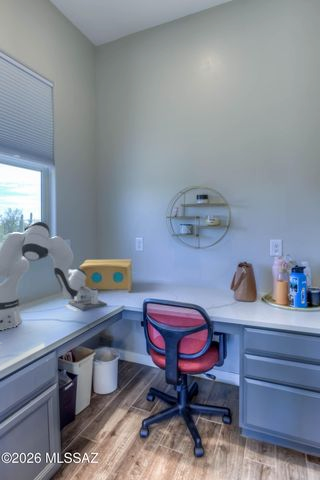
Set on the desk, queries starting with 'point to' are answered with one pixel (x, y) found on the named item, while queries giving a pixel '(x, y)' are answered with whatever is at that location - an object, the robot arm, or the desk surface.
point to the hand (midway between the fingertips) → (92, 297)
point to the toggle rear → (78, 297)
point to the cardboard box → (108, 274)
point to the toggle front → (95, 298)
